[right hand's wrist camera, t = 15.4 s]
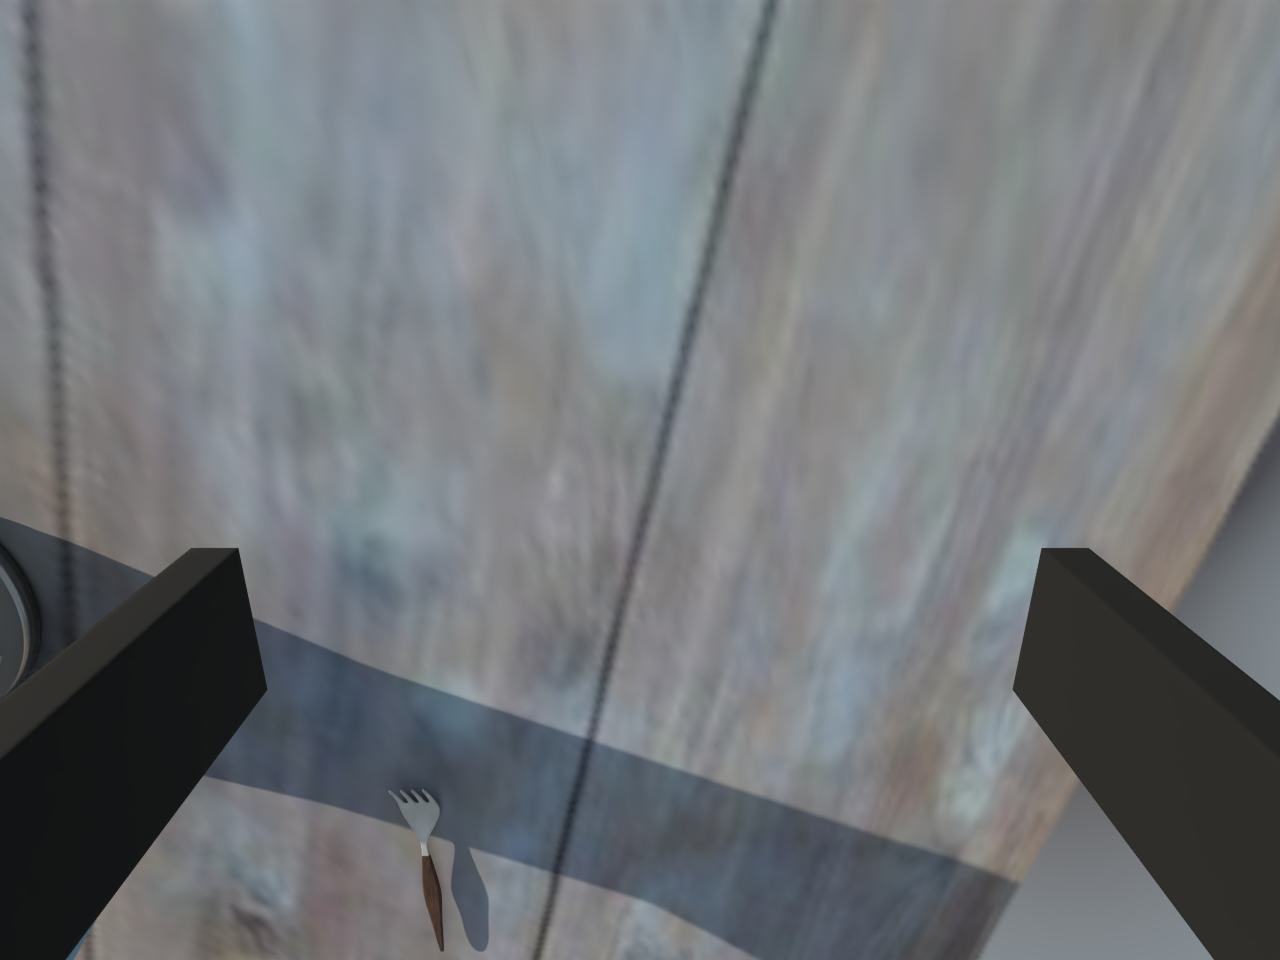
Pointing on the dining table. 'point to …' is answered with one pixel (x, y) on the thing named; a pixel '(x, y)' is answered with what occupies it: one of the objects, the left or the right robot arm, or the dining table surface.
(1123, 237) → the dining table surface
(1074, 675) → the right robot arm
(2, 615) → the left robot arm
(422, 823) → the fork
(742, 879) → the dining table surface
